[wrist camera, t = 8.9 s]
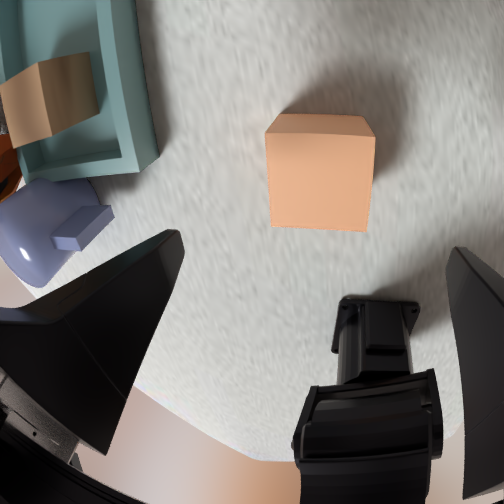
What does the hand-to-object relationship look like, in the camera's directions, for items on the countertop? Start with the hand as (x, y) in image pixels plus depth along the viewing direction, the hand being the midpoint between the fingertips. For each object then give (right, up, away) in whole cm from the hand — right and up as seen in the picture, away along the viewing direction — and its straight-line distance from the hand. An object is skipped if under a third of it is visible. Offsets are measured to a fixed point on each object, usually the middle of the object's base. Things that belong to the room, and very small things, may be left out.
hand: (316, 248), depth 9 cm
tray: (-14, +14, +5) cm, 20 cm away
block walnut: (-14, +11, +7) cm, 19 cm away
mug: (-16, +4, +13) cm, 21 cm away
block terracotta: (+2, +5, +7) cm, 9 cm away
